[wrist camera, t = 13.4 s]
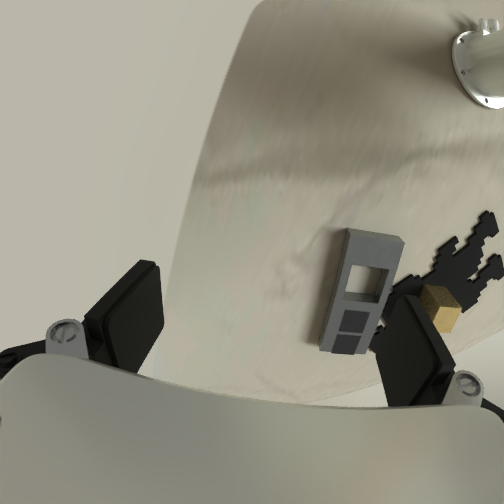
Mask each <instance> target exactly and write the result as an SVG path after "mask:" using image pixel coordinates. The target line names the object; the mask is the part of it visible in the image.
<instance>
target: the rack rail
mask: <svg viewBox="0 0 504 504" xmlns="http://www.w3.org/2000/svg"><path fill="white" fill-rule="evenodd" d="M404 244H405V243H404V242H403V241H402V239H401V238H400V237H399V236H393V235H387V234H381V233H375V232H369V231H363V230H357V229H350V228H347V231H346V236H345V241H344V245H343V250H342V254H341V259H340V263H339V267H338V271H337V275H336V280H335V284H334V288H333V291H332V295H331V299H330V303H329V307H328V310H327V314H326V318H325V321H324V325H323V328H322V332H321V335H320V338H319V350H320V351H327V352H331V353H335V354H349V355H354V354H365V353H366V351H367V349H368V346H369V344H370V342H371V339H372V337H373V334H374V332H375V329H376V327H377V324H378V322H379V319H380V317H381V314H382V311H383V309H384V306H385V303H386V300H387V298H388V295H389V292H390V289H391V286H392V283H393V280H394V277H395V274H396V271H397V268H398V264H399V261H400V258H401V254H402V251H403V247H404ZM352 264H353V265H360V266H368V267H375V268H383V269H382V273H381V276H380V279H379V282H378V285H377V289H376V292H375V295H371V294H362V293H353V292H345V289H346V285H347V282H348V278H349V274H350V270H351V266H352Z"/></svg>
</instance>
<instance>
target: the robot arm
mask: <svg viewBox="0 0 504 504" xmlns="http://www.w3.org/2000/svg"><path fill="white" fill-rule="evenodd" d="M488 22H489V29H490V33H489V32H488V30H487V28H488V27H487V21H486V20H485V19H482V18H480V19H479V26H480V30H479V32H474V31H466V32H463V33H461V34H459V35H458V36H457V37H456V38H455V40H454V42H453V45H452V60H453V65H454V68H455V71H456V74H457V76H458V78H459V80H460V82H461V84H462V86H463V87H464V89H465V90H466V91H467V93H468V94H469V95H470V96H471V97H472V98H473V99H474V100H475V101H476V102H478V103H479V104H481V105H482V106H484V107H487V108H493V109H497V108H502V107H504V29H501V30H500V27H499V22H498V21H496V20H494V19H489V20H488ZM84 318H85V319H84V320H83V322H82V323H80V322H79V321H77V320H75V319H63V320H60V321H57V322H55V323H53V324H52V325H51V326H50V327H49V328H48V330H47V332H46V339H45V340H41V341H37V342H33V343H29V344H25V345H21V346H16V347H12V348H8V349H6V350H4V351H2V352H1V353H0V504H504V410H502V409H501V408H499V407H497V406H496V405H494V404H492V403H491V402H489V401H487V400H486V399H484V398H483V394H484V387H483V384H482V382H481V380H480V379H479V378H478V377H477V376H476V375H475V374H473V373H471V372H469V371H465V370H461V371H458V372H456V373H455V372H454V370H453V369H454V367H455V366H456V364H455V362H454V360H453V358H452V356H451V354H450V352H449V350H448V348H447V347H446V345H445V343H444V341H443V339H442V337H441V336H440V334H439V332H438V330H437V329H436V327H435V325H434V324H433V322H432V320H431V318H430V317H429V315H428V313H427V312H426V310H425V308H424V307H423V305H422V304H421V302H420V300H419V299H418V297H417V296H412V295H402V297H401V298H398V299H397V301H396V303H395V306H394V308H393V311H392V314H391V316H390V319H389V321H388V324H387V326H386V328H385V331H384V333H383V336H382V338H381V340H380V342H379V345H378V347H377V349H376V360H377V364H378V368H379V371H380V375H381V379H382V383H383V387H384V390H385V394H386V398H387V403H388V407H337V406H318V405H304V404H292V403H282V402H273V401H265V400H258V399H251V398H244V397H238V396H232V395H226V394H220V393H215V392H210V391H205V390H200V389H195V388H190V387H186V386H182V385H177V384H173V383H169V382H165V381H161V380H158V379H154V378H150V377H146V376H143V375H139V374H137V372H138V370H139V368H140V367H141V365H142V363H143V362H144V360H145V358H146V357H147V355H148V353H149V351H150V350H151V348H152V346H153V345H154V343H155V341H156V339H157V338H158V336H159V334H160V333H161V331H162V329H163V327H164V314H163V304H162V293H161V281H160V268H159V266H156V264H155V262H153V261H147V260H139V261H138V262H137V263H136V264H135V265H134V266H133V267H132V268H131V269H130V270H129V271H128V272H127V273H126V274H125V275H124V276H123V277H122V278H121V279H120V280H119V281H118V282H117V283H116V284H115V285H114V286H113V287H112V288H111V289H110V290H109V291H108V292H107V293H106V294H105V295H104V296H103V297H102V298H101V299H100V300H99V301H98V302H97V303H96V304H95V305H94V306H93V307H92V308H91V309H90V310H89V311H88V313H86V315H85V316H84Z"/></svg>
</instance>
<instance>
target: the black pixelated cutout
mask: <svg viewBox="0 0 504 504" xmlns="http://www.w3.org/2000/svg"><path fill="white" fill-rule="evenodd" d="M479 217H480V220H481V222H479V223H478V224H477V225H476V226H475V227H473V228H474V231H475V233H473V234H472V235H471V236H470V237H468V238H467V240H468V244H467V245H466V246H464V247H463V248H462V249H461V250H459V251H458V252H457V253H455V254H454V255H453V254H452V253H453V252H454V251H456V248H455V245H456V244H457V243H458V242H459V241H458V238H457V237H456V236H455V237H453V238H452V239H451V240H449V241H448V242H447V243H445V244H444V245H443V246H441V247H440V248H439V249H438V251H439V253H440V254H439V255H437V256H436V257H435V258H436V260H437V262H436V263H434V264H433V267H434V270H433V271H431V272H430V273H428V274H427V275H426V276H424V277H423V278H420V276H419V275H418V276H416V277H415V278H414V276H413V275H412V274H411V275H409V276H408V277H406V278H405V279H403V280H402V281H400V282H399V283H397V284H396V285H394V286H393V289H394V292H392V293H391V294H389V295H388V298H387V300H386V301H387V302H386V303H385V306H384V309H383V311H382V314H381V315H382V316H383V318H384V320H385V321H386V323H387V324H388V321H389V319H390V316H391V314H392V311H393V308H394V306H395V303H396V301H397V299H398V298H401V297H402V295H412V296H417V297H418V299H419V297H420V294H421V292H422V289H423V287H424V284H426V285H434V286H442V287H446V288H447V289H448V291H449V292H450V293H451V295H452V296H453V297H454V298H455V300H456V301H457V302H458V304H459V305H460V306H461V308H462V310H461V312H462V313H464V312H465V311H466V310H468V309H469V308H470V307H472V306H473V305H474V304H476V303H477V302H478V300H477V298H478V297H479V296H481V294H480V291H482V290H483V289H484V288H485V287H487V283H486V282H487V281H489V280H490V279H491V278H493V279H494V280H495V279H496V278H497V280H498V281H499V280H500V279H501V278H502V277H503V276H504V267H503V262H502V258H501V255H498V256H497V255H496V254H493V255H492V256H491V257H490V258H489V259H488V262H489V264H487V265H486V266H485V267H484V268H483V269H481V270H480V271H479V272H478V275H479V277H477V278H476V279H475V280H474V281H472V280H471V279H469V280H468V281H467V279H468V278H469V277H471V276H472V275H473V274H474V273H476V272H477V271H478V267H477V266H478V265H479V264H481V261H480V258H482V257H483V256H484V255H483V252H482V248H481V247H482V246H483V245H484V244H485V243H484V239H485V238H486V237H487V236H488V235H490V237H492V238H493V237H494V236H495V235H496V234H497V233H498V232H499V229H498V226H497V222H496V219H495V215H494V213H493V212H491V213H490V214H489V211H487V210H486V211H485V212H484V213H483V214H482V215H481V216H479ZM385 328H386V327H385ZM385 328H383V326H382V325H380V326H379V327H377V329H378V332H376V333H375V334H373V337H372V339H371V342H370V344H369V347H370V348H371V349H372V351H373V352H374V353H376V349H377V347H378V345H379V342H380V340H381V338H382V336H383V333H384V331H385Z"/></svg>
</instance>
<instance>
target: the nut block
mask: <svg viewBox="0 0 504 504" xmlns="http://www.w3.org/2000/svg"><path fill="white" fill-rule="evenodd" d="M419 300H420V302H421V304H422V305H423V307H424V308H425V310H426V312H427V313H428V315H429V317H430V318H431V320H432V322H433V324H434V325H435V327H436V329H437V330H438V332H441V333H450V332H451V330H452V328H453V326H454V324H455V322H456V320H457V318H458V316H459V314H460V312H461V310H462V308H461V306H460V305H459V304H458V302H457V301H456V300H455V298H454V297H453V296H452V295H451V293H450V292H449V291H448V289H447V288H446V287H442V286H434V285H426V284H424V287H423V289H422V292H421V294H420V297H419Z"/></svg>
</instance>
